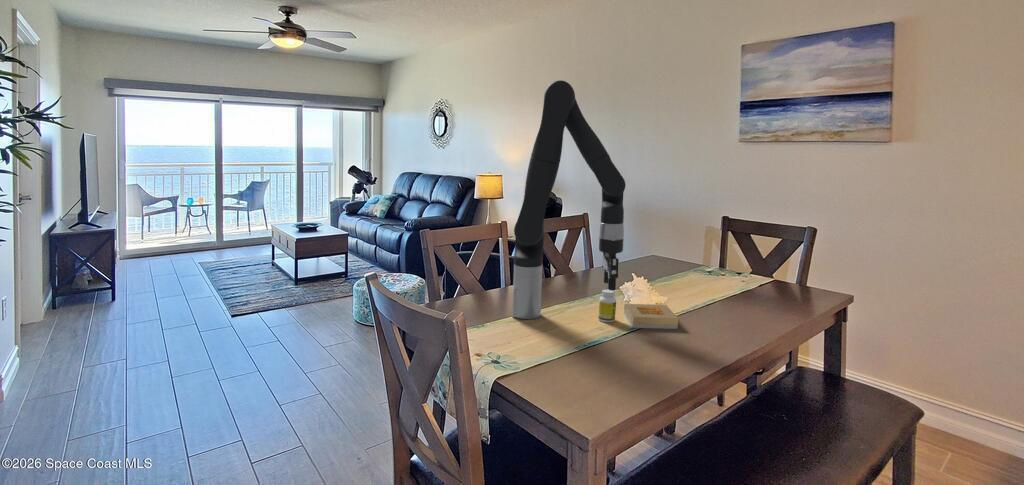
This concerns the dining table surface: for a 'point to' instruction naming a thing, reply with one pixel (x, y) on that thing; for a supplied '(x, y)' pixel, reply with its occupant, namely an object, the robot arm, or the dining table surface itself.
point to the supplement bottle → (607, 306)
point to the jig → (650, 316)
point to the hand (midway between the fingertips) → (609, 286)
